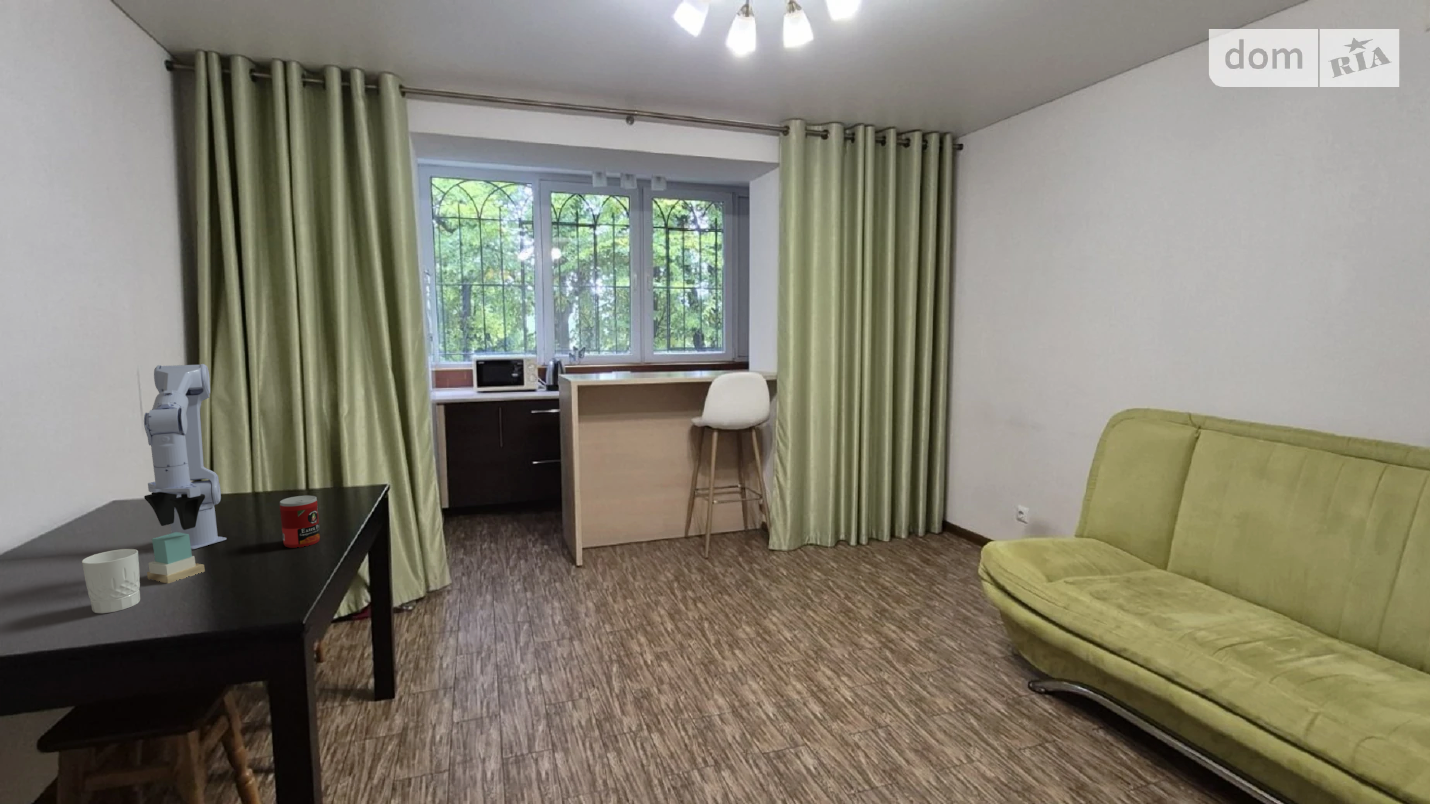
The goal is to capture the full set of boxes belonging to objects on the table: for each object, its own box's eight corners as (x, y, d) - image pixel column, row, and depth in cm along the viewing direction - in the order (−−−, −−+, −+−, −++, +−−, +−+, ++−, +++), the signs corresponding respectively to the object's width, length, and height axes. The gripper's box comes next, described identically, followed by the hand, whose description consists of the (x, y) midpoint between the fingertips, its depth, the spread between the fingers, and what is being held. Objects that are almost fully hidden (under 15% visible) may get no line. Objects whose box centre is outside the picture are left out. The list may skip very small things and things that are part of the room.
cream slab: (149, 572, 138) (148, 562, 138) (178, 563, 143) (177, 553, 143) (167, 575, 136) (166, 565, 136) (195, 566, 141) (194, 556, 141)
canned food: (303, 549, 156) (299, 504, 154) (275, 547, 157) (270, 503, 156) (328, 538, 163) (324, 496, 162) (301, 537, 165) (297, 494, 163)
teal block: (155, 561, 138) (151, 538, 138) (179, 554, 142) (176, 532, 142) (168, 564, 137) (164, 541, 136) (192, 556, 141) (188, 534, 140)
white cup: (111, 598, 128) (105, 549, 127) (154, 596, 129) (148, 548, 128) (76, 616, 121) (69, 564, 119) (122, 614, 121) (115, 562, 120)
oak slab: (148, 582, 138) (146, 572, 138) (185, 570, 145) (183, 560, 145) (168, 586, 136) (167, 576, 136) (205, 574, 142) (203, 564, 142)
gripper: (128, 466, 138) (136, 528, 140) (170, 471, 132) (177, 535, 134) (166, 459, 144) (173, 518, 146) (208, 464, 139) (214, 525, 141)
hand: (178, 526), depth 140 cm, fingers open, 7 cm apart
